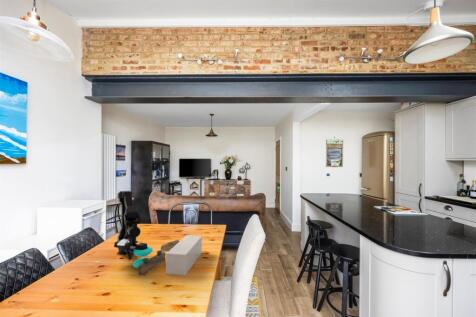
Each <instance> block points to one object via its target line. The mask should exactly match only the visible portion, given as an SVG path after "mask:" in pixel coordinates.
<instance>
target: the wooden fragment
mask: <svg viewBox="0 0 476 317" xmlns="http://www.w3.org/2000/svg"><path fill="white" fill-rule="evenodd" d="M180 241H181V240H180V239H176V240H172V241H169V242H167V243H164V244H162V245H161V246H160V250H161V252H165V253H167V252H168V251H170V250H171V249H172V248H173V247H174V246H175V245H176V244H177V243H178V242H180Z"/></svg>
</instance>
